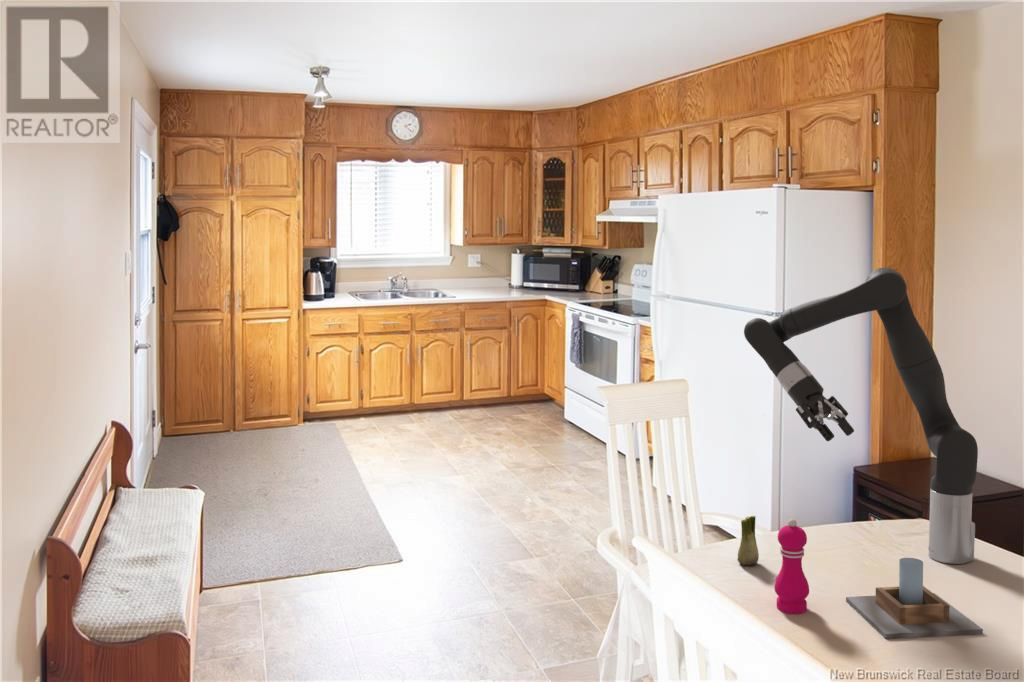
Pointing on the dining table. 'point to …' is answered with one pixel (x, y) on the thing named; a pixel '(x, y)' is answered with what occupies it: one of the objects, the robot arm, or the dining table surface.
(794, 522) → the pepper mill
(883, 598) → the wooden frame tray
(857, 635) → the dining table surface
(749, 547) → the fennel bulb
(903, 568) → the post
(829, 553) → the dining table surface
